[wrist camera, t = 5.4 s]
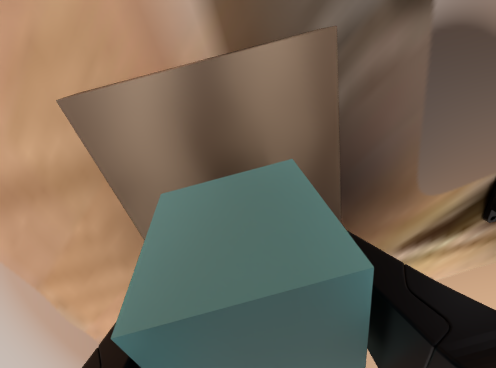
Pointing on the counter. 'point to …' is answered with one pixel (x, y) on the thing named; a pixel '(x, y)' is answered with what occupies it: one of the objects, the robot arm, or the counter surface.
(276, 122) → the walnut base
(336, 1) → the counter surface
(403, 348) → the robot arm
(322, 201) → the teal block
